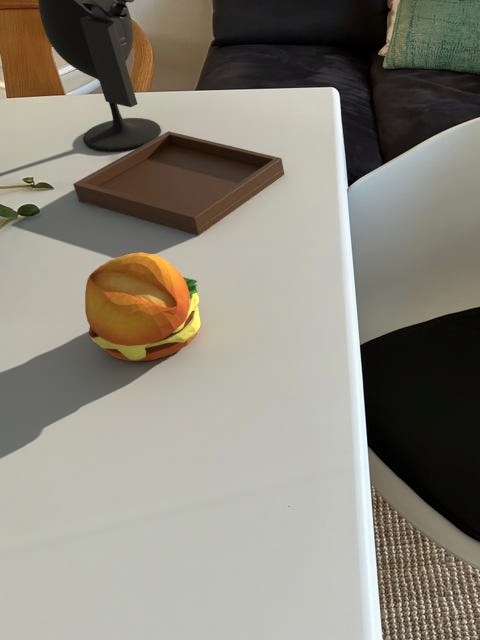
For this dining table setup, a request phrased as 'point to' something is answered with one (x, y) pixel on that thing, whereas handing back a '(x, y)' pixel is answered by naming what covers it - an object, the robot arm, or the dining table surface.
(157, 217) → the tray
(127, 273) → the cheeseburger
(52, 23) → the wine glass
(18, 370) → the dining table surface
